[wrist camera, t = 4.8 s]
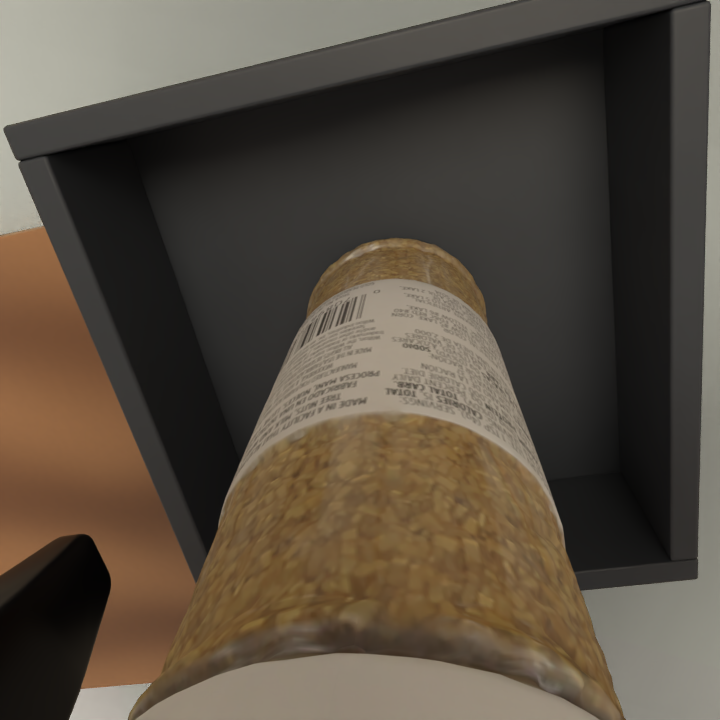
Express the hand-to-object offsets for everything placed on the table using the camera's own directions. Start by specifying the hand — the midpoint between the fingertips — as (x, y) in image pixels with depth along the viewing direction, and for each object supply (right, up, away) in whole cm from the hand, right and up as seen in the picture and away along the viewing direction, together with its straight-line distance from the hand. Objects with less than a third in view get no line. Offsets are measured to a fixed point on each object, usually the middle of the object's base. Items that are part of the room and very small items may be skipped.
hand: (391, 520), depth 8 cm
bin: (+1, +3, +7) cm, 8 cm away
